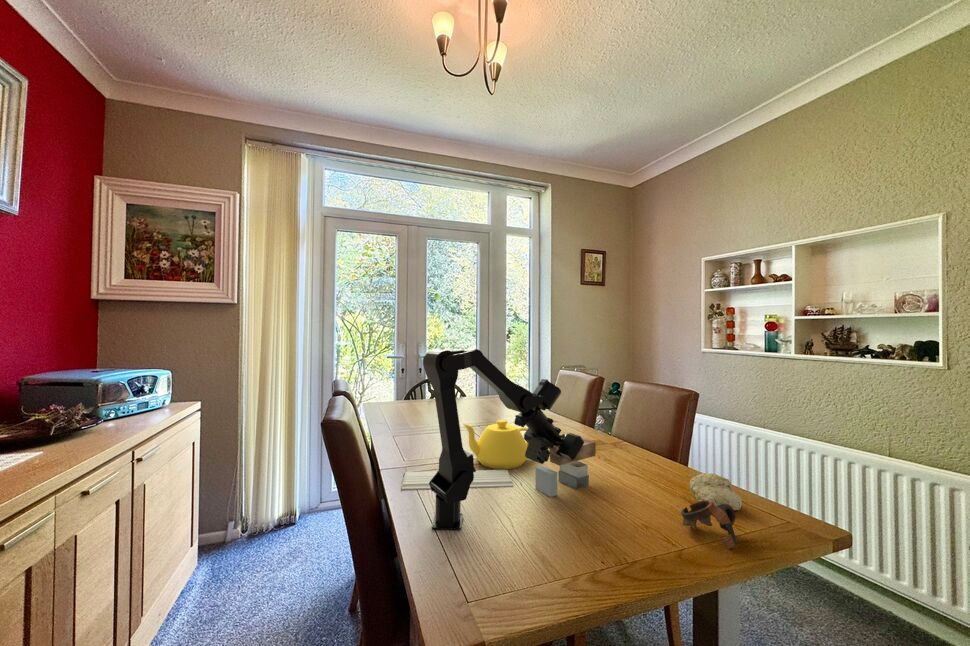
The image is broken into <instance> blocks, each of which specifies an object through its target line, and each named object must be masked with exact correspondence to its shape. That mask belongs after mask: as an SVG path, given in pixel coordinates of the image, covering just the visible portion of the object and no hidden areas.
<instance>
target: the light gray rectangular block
mask: <svg viewBox="0 0 970 646" xmlns="http://www.w3.org/2000/svg"><path fill="white" fill-rule="evenodd" d="M535 490H537V491H538V492H540V493H541V494H544V495H546V496H548V497H550V498H552V497H556V496H557V495H558V471H555V470H552V469H551V468H548V467H546V466H544V465H539V466H536V467H535Z"/></svg>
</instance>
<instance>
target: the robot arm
mask: <svg viewBox="0 0 970 646" xmlns="http://www.w3.org/2000/svg"><path fill="white" fill-rule="evenodd" d="M422 366H423V369H424V371H425V375H426V378H427V380H428V381H429V384H430V385H431V387H432V389H433V393H434V400H435V401H434V402H435V407H436V408H435V409H436V413H437V421H438V427H439V434H440V442H441V453H440V454H439V455H440V456H439V459H438V470H437V471H438V472H437V473H436V474H435V476H434V477H433V478H432V479H431V481H430V482H429V485H430V488H431V489H430V491H431V492H432V493H434V494H435V505H434V506H435V508H434V509H435V512H434V513H435V514H434V517H433V521H432V524H431V529H432V530H451V531H453V530H455V531H458V530H461V529H462V525H463V519H464V513H461V502H463V501H465V500H466V499H467V497H468V494H469V491H470V489H471V488H470V485H471V483H472V482H473V479H474V473H473V472H476V468H475V466H474V463H475V462H474V461H475V460H474V454H473V453H470V452H468V451H467V450H465V449H464V446H463V439H462V434H461V432H462V431H461V426H460V419H459V410H458V404H457V397H456V389H455V388H456V384H457V381H458V378H459V371H461V370H465V369H468V368H470V369H471V370H472V371H473V372H475V374H477V376H479V377H480V378H481V379H483V381H484V382H485V383H487V384H488V386H489V387H491V388H492V389H493V390H494V391H496V393H497V395H498V397H499V400H500V401H501V402H502V404H503V405H504V406H505V408H507V409H508V410H512V411H515V412H518V414H516V415H515V416H514V417H515V419H514V422H513V423H514V426H518V427H526V428H528V429H527V431H525V432H524V434H523V438H524V440H525V442H527V443H529V444H528V447H527V450H526V453H525V457H526V458H527V459H529V460H530V461H533V462H535V463H537V464H540V465H544V464H545V463H547V462H548V461H549V460H550V449H552V447H554V446H555V447H558V448H559V449H558V451H557V452H556V454H557V455H560V456H564V457H566V458H568V459H570V460H573V459H575V458H576V456H577V454H578V452H579V451H580V449H581V447H582V446H583V444H584V440H585V439H584V438H583V437H582V436H581V435H578V434H575V433H572V432H569V433H566V434H565V433H563V434H560V433H561V432H562V429H561V428H560V427H557V426H556V425H554V419H553V418H550V417H548V416H547V415H546V414H545V413H544V412H543V411H546V410H548V411H550V410H551V409H553V406H554V405H555V403H556V401H557V400H558V399H559V397H560V396H561V394H562V390H561V388H560V387H558V386H557V385H556V384H554V383H553V382H551V381H549V380H548V379H546V378H542V379H540V381H539V383H538V385H537V386H536V388H535V390H533V392H531V390H528V389H527V388H525V387H524V386H521V385H520V384H517V383H515V382H514V381H512V380H510V378H508V377H507V376H506V375H505V374H504V373H503V372H502V371H501V370H500V369H499V368H498V367H496V366H495V365H494V363H493V362H491V361H490V359H488V358H487V357H486V356H485V355H484V353H483V352H482V351H481V350H480V349H476V348H465V349H462V350H461V349H460V350H446V349H439V348H438V349H437V348H436V349H433V348H432V349H430V350H429V351H427V352H426V353H425V355H424V356H423V357H422Z"/></svg>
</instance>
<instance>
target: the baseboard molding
mask: <svg viewBox="0 0 970 646" xmlns="http://www.w3.org/2000/svg"><path fill="white" fill-rule="evenodd" d="M475 470H476V469H475ZM437 472H438V470H437V471H435V470H434V471H407V470H405V472H404V473H403V475H402V476H403V480H402V483H401V487H400V490H401V491H409V490H410V489H411V490H410V491H415V490H419V489H420V490H431V488H430V485H429V482H430V481H431V479H432V478H433V477H434V476H435V474H436V473H437ZM473 473H474V479H473V482H472V483H471V485H470V488H469V489H476V488H477V489H481V488H482V489H483V488H509V487H513V486H514V484H513V480H512V478H511V475H510V473H509V470H508V469H487V470H486V469H483V470H481V469H480V470H478V469H477V470H476V472H473Z"/></svg>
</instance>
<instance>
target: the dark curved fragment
mask: <svg viewBox="0 0 970 646" xmlns="http://www.w3.org/2000/svg"><path fill="white" fill-rule="evenodd" d="M689 508H690V510H689ZM689 508H688V507H686V506H685V507H684V508H682V510H681V511H680V515H681V516H682V524H683V525H684V526H687V527H688V526H689V527H692V529H693V530H696V529H697V523H698V522H700V523H701V524H702V525H703V524H704V525H705V526H707V527H712V526H713V524H712V520H711V515H712V516H713V517H714V518H715V520H716V522H718V523H719V528H721V529H722V530H725V531H726V532H727V534H726V535H725V536H724V537H722V539H721V540H722V542H723V543H724V544H725V547H726V548H725V549H727V550H730V549H733V548H734V547H735V546H736V545H737V544H738V540H737V537H736V534H735V529H734V527H733V525H734V524H735V522H736V517H737V516H736V510H734V509H733V508H732V507H731V506H730V505H728V504H720V505H718V506H715V505H714V503H713V502H712V501H710V500H703V501H697V502H693V503H691V504H689Z"/></svg>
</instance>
